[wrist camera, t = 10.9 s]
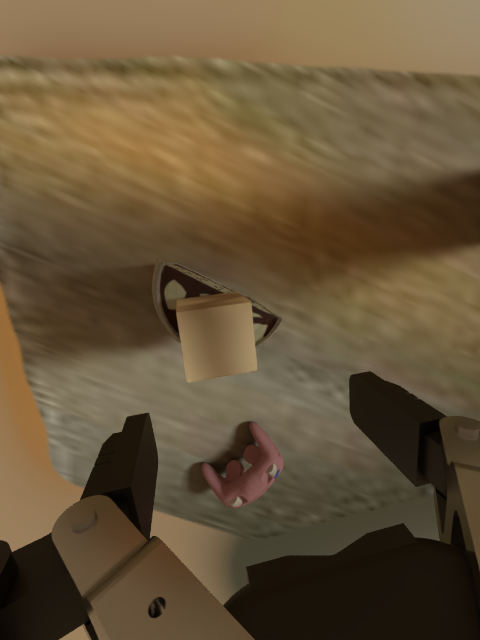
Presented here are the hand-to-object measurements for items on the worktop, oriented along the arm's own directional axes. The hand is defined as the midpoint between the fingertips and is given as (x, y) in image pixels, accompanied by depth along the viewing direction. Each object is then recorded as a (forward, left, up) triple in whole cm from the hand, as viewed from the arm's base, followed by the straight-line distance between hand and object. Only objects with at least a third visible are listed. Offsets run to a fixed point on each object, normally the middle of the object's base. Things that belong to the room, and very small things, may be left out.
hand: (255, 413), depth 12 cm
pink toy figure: (-2, +21, -24) cm, 32 cm away
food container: (+1, 0, -24) cm, 24 cm away
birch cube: (0, 0, -14) cm, 14 cm away
